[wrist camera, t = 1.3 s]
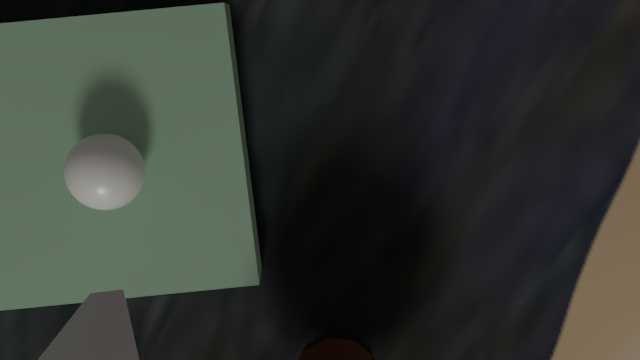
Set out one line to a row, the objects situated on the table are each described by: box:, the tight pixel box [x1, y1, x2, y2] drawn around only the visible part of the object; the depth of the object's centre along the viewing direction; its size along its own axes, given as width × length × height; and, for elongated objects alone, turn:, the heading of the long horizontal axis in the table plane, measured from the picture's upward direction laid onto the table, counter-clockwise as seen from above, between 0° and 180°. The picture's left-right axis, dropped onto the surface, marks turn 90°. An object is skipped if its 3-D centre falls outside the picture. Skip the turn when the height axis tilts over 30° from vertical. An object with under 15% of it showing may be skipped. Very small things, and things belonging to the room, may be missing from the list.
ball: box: [64, 133, 146, 210], centre depth 31 cm, size 4×4×4 cm
